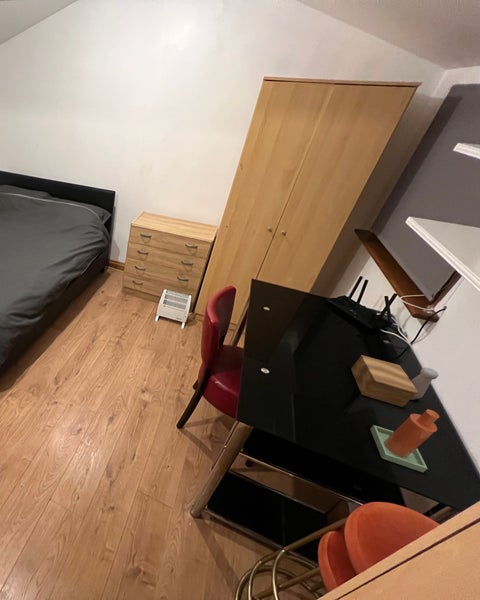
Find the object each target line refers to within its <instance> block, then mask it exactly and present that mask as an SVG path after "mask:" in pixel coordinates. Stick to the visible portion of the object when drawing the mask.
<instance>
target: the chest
mask: <svg viewBox="0 0 480 600" xmlns="http://www.w3.org/2000/svg"><path fill="white" fill-rule="evenodd" d="M350 370H351V372H352V375H353V377H354V380H355V382H356V384H357V388H358V389H359V391H360V395H361V396H364V397H368V398H371V399H375V400H378V401H381V402H384V403H387V404H391V405H395V406H398V407H402V408H404V407H405V406H406V405H407V404H408V403H409V402H410V400H411V398H412V397H413V396H414V395H415V394H414V393H411V392H407V391H404V390H401V389H397V388H394V387H390V386H387V385H383V384H380V383H376V382H374V381H373V379H372V377H371V375H370V373H369V372H368V370H367V368H366V366H365V364H364V362H363V361H362V359H361V357H360V356H359V358H357V360H356V362H355V363H354V364H353V365H352V366H351V368H350Z"/></svg>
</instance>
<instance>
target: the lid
mask: <svg viewBox="0 0 480 600" xmlns="http://www.w3.org/2000/svg"><path fill="white" fill-rule="evenodd" d="M360 357H361V359H362V361H363V362H364V364H365V366H366V368H367V370H368V372H369V373H370V375H371V377H372V379H373V381H374V382H376V383H380V384H383V385H387V386H390V387H394V388H397V389H401V390H404V391H407V392H411V393H414V394H418V393H419V392H418V391H417V389H416V388H415V386H414V385H413V383H412V382H411V379H410V378H409V376H408V374H407V373H406V372H405V371H404V369H403V367H402V366H401V364H400V365H399V364H397V363H392V362H389V361H385V360H381V359H377V358H374V357H370V356H366V355H362V354H361V355H360V356H359V358H360Z"/></svg>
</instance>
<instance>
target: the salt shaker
mask: <svg viewBox="0 0 480 600" xmlns="http://www.w3.org/2000/svg"><path fill="white" fill-rule="evenodd" d="M419 371H420V372H419V373H420V374H418V375H416V376H415V377H414V378H411V379H410V381H411V382H412V383H413V385H414V386H415V388H416V389H417V391H418V392H419V393H418V394H415V395H414V396H413V397H412V398H411V399H410V400H412V401H414V400H418V399H421V398H423V396H424V395H425V393H426V392H427V390H428V388H429V386H430V384H431V383H432V381H433V380H436V379H437V378H438V377H439V373H438V371H436V370H435V369H433V368H430V367H423V368H422V369H421V370H419Z"/></svg>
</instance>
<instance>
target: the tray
mask: <svg viewBox="0 0 480 600" xmlns="http://www.w3.org/2000/svg"><path fill="white" fill-rule="evenodd" d="M369 429H370V433H371V435H372V437H373V440H374V443H375V445H376V448H377V450H378V452H379V455H380V457H381V459H383V460H384V461H388V462H392V463H394V464H398V465H401V466H403V467H406V468H409V469H411V470H413V471H414V470H415V471H418V472H420V473H424V472H426V471H427V470H428V467H427V465H426V462H425V461H424V459H423V457H422V454H421V453H420V450H419V448H417V449H416V450H415V451H413V452H412V453H411V454H410V455H409V456H408V457H400V456H397V455H395V454H394V453H392V452H391V451H390V450H388V449H387V447H386V446H385V444H384V441H385V440H386V439H387V438H388V437H389V436H390V435H391V434H392V433H393V432H394V431H395V430H390V429H387V428H384V427H382V426H378V425H374V424H373V425H372V427H370V428H369Z"/></svg>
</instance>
